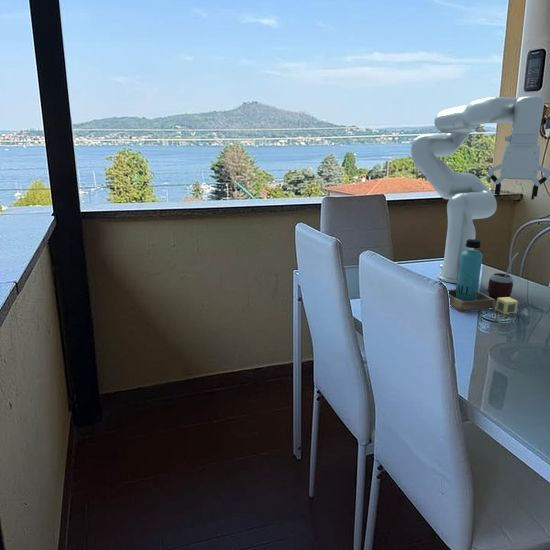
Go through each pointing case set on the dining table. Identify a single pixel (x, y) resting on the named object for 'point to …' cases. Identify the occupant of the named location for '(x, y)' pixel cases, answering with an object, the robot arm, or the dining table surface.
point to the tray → (471, 302)
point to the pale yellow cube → (506, 305)
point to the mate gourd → (501, 284)
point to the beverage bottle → (469, 272)
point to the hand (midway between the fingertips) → (514, 197)
